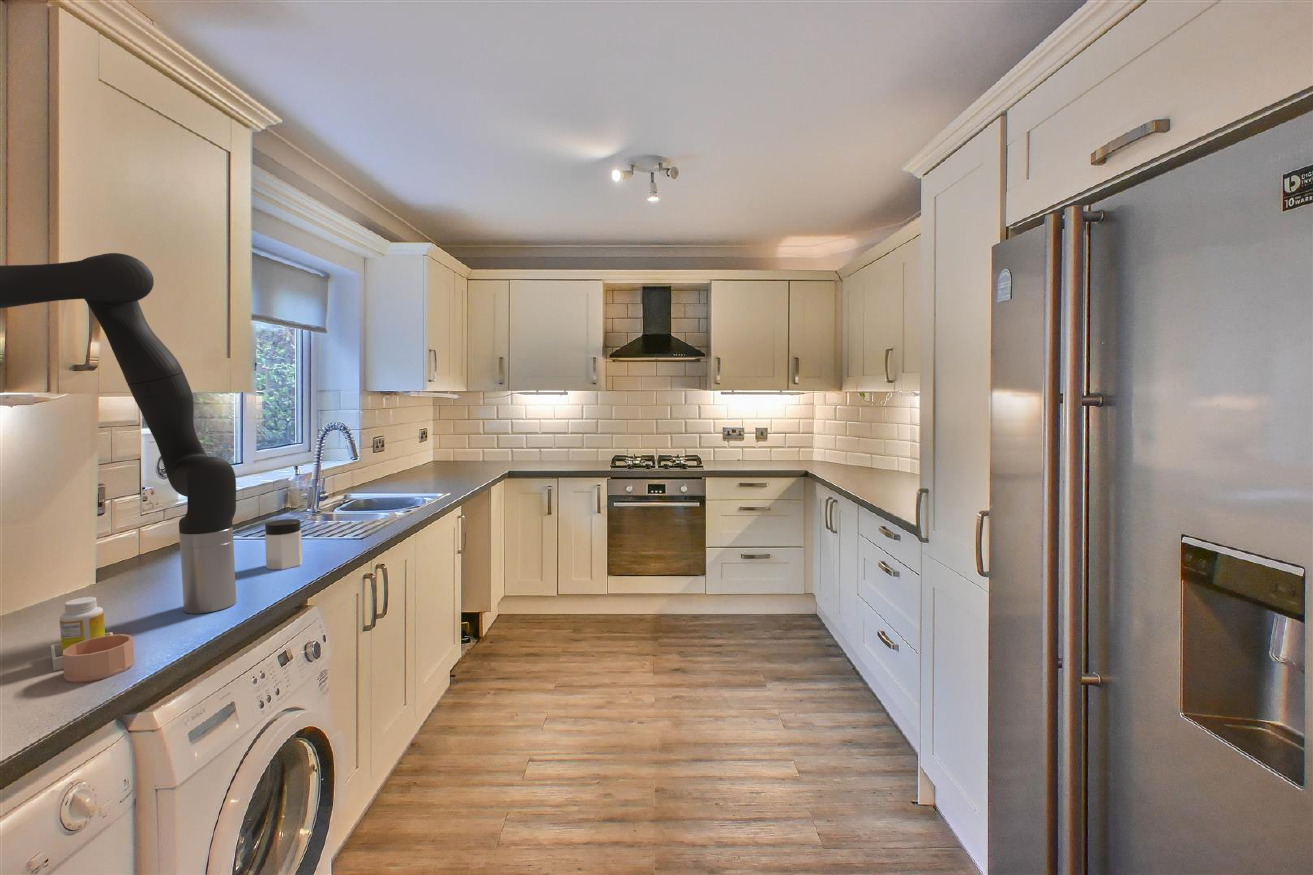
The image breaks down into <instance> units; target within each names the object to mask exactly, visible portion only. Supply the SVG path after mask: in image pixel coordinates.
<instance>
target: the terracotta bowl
mask: <svg viewBox="0 0 1313 875" xmlns="http://www.w3.org/2000/svg"><path fill="white" fill-rule="evenodd" d="M62 656H63V669H62V670H63V677H64V681H65V682H67V683H71V684H80V683H81V684H82V683H89V682H95V681H100V680H103V679H108V678H110V676H111V677H114V676H116V674H117V675H118V674H121V673H124V672H125V670H126V671H127V670H129V669H130V668H132V667H133V666H134V664H135V656H134V643H133V636H132V635H131V634H125V633H121V634H113V635H107V636H102V637H97V638H92V639H88V640H85V641H82V642H79V643H76V644H73V645H71V646H70V647H68V648H66V649H64V650H63V655H62ZM132 665H133V666H132ZM131 666H132V667H131ZM128 668H129V669H128ZM107 677H108V678H107Z"/></svg>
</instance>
